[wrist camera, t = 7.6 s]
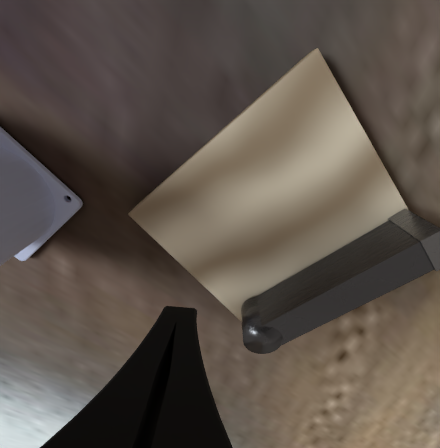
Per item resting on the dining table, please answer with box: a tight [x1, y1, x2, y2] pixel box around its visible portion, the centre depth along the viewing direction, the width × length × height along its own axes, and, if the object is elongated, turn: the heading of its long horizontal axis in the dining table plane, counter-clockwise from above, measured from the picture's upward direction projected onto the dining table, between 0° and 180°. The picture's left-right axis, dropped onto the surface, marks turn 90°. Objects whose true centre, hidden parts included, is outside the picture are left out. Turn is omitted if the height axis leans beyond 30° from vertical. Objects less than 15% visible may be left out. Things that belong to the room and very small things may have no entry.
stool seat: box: [128, 48, 408, 322], centre depth 18 cm, size 15×15×3 cm
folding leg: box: [241, 209, 440, 354], centre depth 18 cm, size 14×3×3 cm, turn 128°
